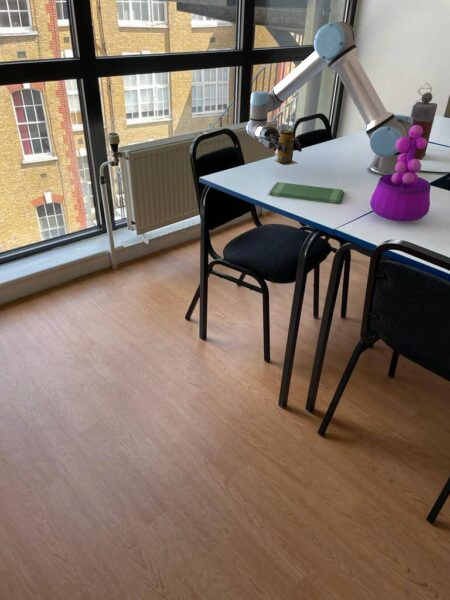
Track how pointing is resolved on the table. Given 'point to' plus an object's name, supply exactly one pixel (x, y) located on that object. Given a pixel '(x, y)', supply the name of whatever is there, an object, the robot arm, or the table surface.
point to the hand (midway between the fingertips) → (293, 148)
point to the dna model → (424, 88)
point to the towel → (307, 192)
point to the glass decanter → (423, 121)
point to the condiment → (287, 140)
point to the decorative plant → (403, 184)
